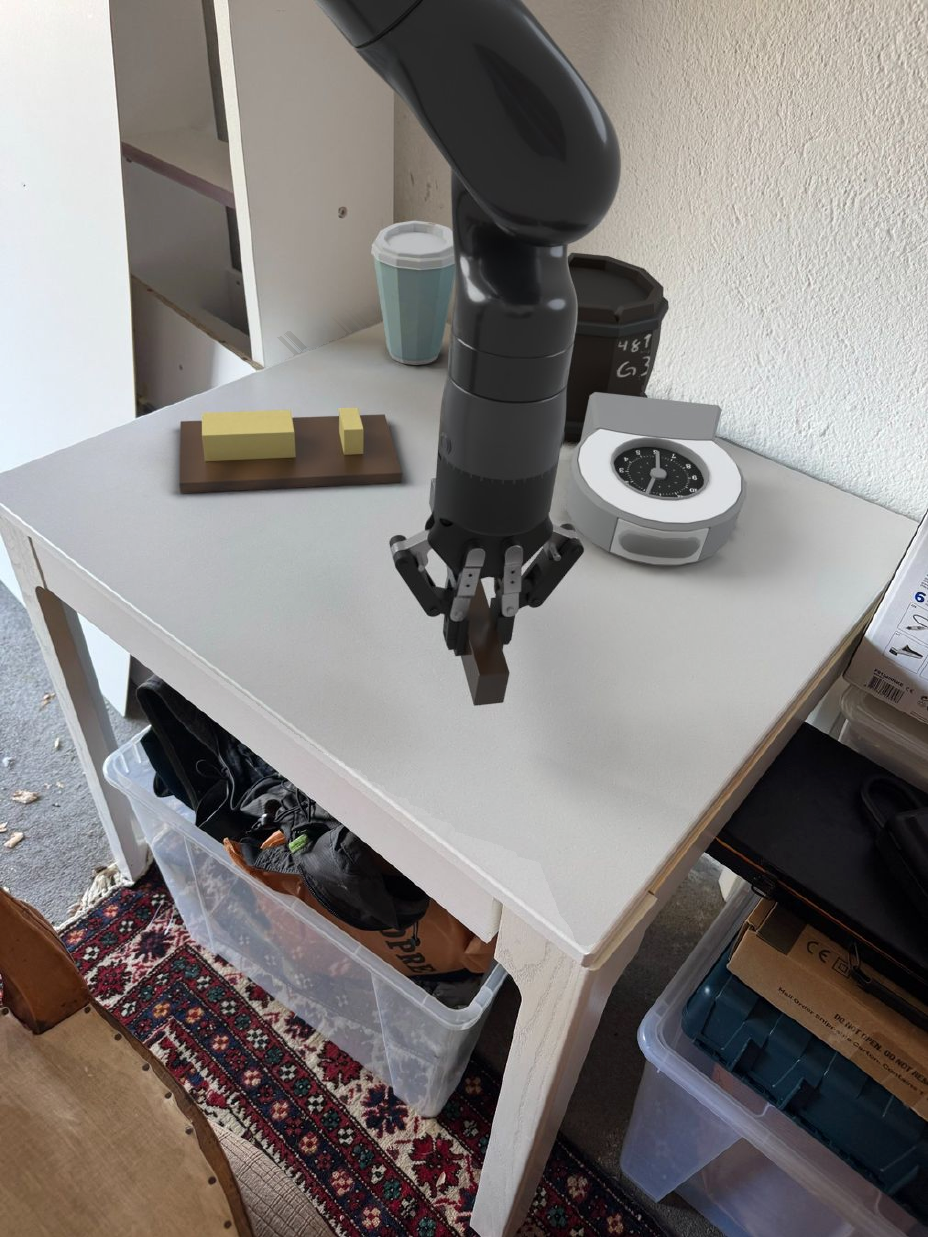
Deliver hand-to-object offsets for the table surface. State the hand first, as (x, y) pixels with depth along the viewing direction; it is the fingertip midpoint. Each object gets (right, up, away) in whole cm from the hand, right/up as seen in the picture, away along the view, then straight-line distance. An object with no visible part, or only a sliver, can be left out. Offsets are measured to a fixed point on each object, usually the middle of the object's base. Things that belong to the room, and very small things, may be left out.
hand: (475, 645), depth 68 cm
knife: (-1, +4, +5) cm, 6 cm away
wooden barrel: (+11, +27, +42) cm, 51 cm away
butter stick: (-23, +20, +28) cm, 41 cm away
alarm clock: (+18, +13, +27) cm, 35 cm away
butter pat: (-13, +21, +30) cm, 39 cm away
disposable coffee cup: (-8, +35, +50) cm, 62 cm away
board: (-19, +19, +29) cm, 40 cm away
